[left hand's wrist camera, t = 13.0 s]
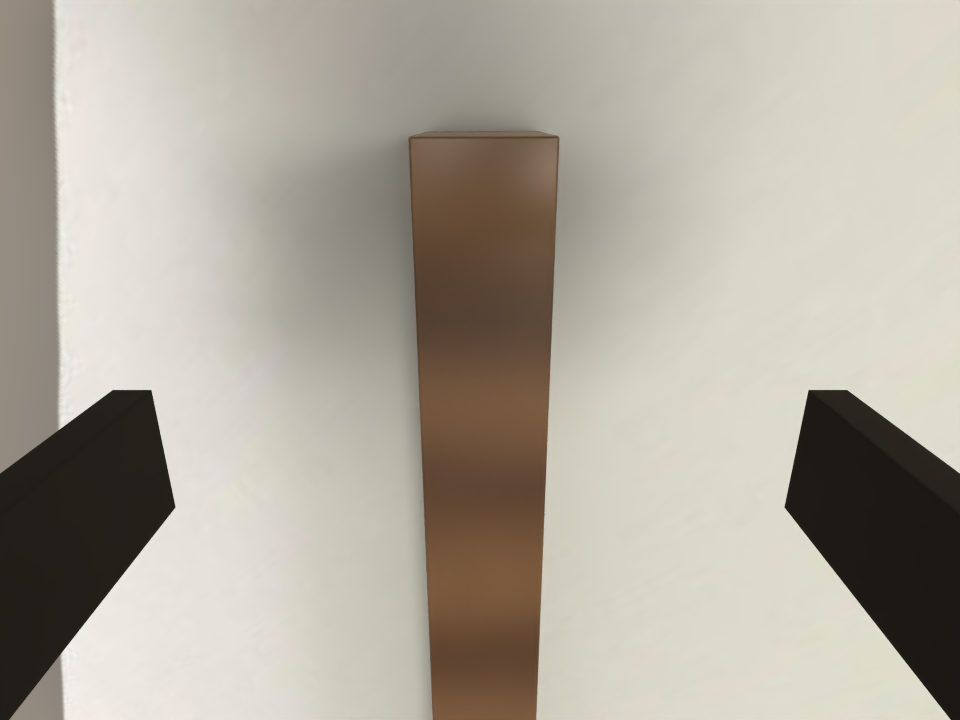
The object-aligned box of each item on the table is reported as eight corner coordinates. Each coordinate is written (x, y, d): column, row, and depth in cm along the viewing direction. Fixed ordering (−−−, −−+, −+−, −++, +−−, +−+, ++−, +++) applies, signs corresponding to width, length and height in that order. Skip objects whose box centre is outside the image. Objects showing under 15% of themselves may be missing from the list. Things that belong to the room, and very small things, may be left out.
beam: (425, 131, 31) (408, 136, 23) (540, 131, 31) (559, 136, 23) (448, 819, 49) (442, 947, 41) (519, 819, 49) (527, 947, 41)
